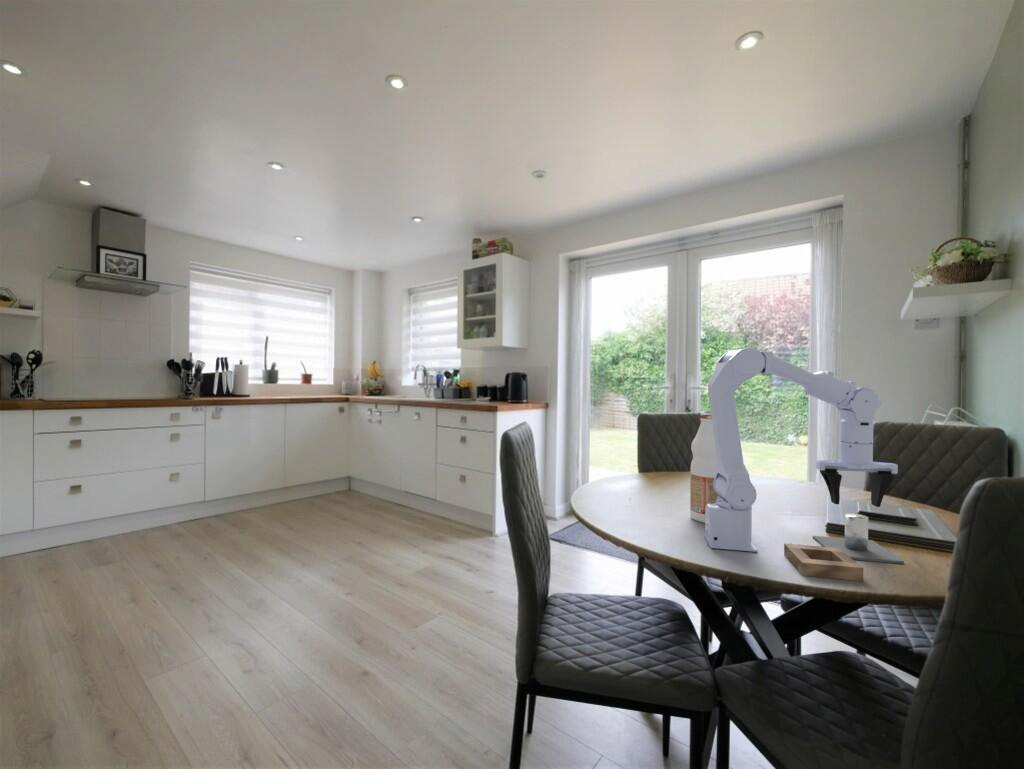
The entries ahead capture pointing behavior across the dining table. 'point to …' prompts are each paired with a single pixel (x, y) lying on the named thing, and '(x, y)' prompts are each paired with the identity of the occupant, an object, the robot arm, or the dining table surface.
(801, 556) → the holder
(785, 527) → the dining table surface
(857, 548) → the plug
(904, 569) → the dining table surface
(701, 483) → the fruit juice
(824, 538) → the mat
